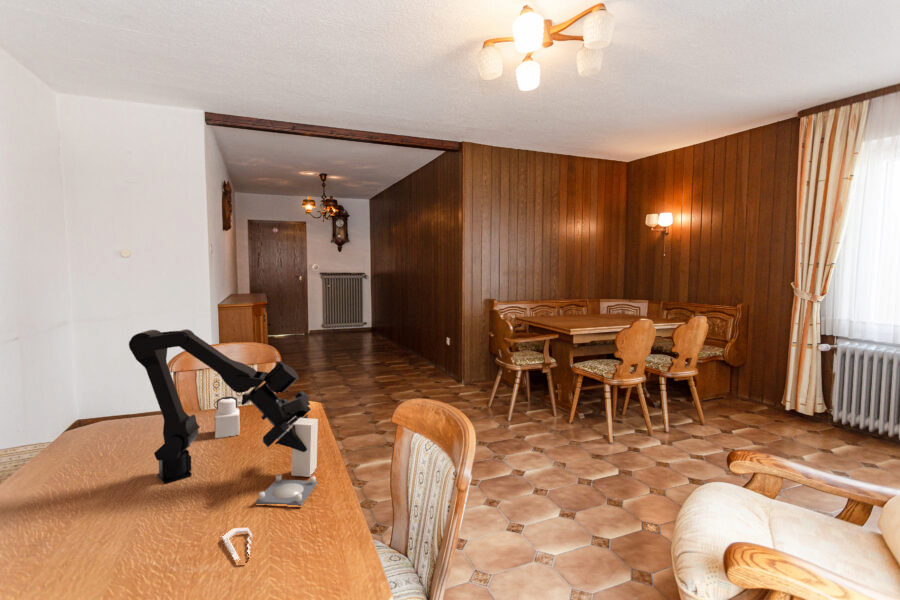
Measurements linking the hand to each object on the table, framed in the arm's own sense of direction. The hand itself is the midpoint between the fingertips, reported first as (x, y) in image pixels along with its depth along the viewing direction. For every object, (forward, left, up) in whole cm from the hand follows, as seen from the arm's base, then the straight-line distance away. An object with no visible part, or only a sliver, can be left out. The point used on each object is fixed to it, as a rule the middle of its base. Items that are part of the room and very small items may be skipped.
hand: (309, 446), depth 120 cm
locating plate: (-9, -6, -8) cm, 13 cm away
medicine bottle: (-3, +45, -8) cm, 46 cm away
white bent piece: (-26, -18, -8) cm, 33 cm away
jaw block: (-1, +1, -7) cm, 7 cm away
